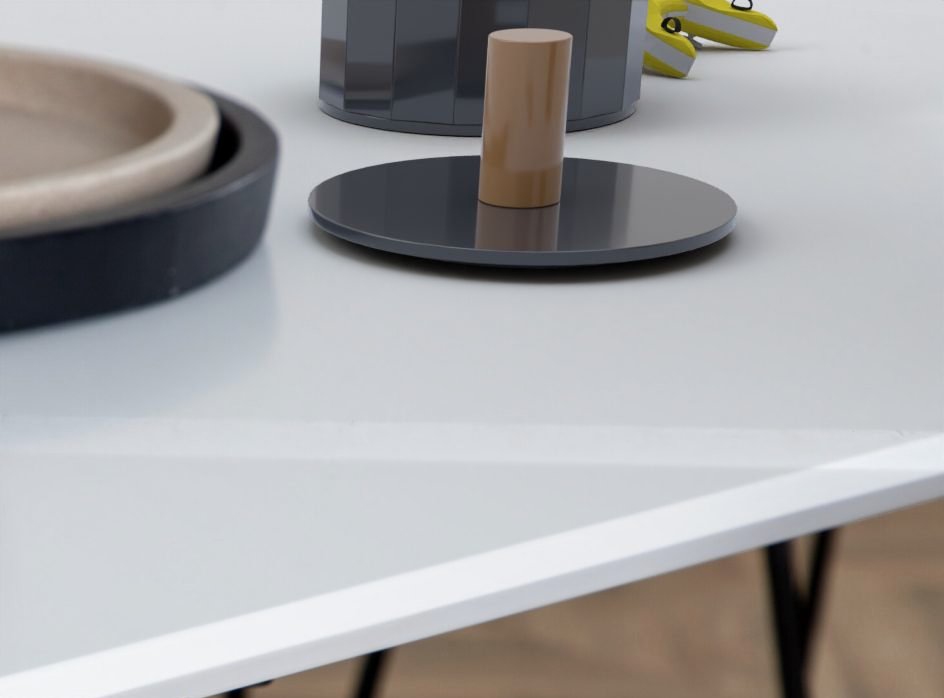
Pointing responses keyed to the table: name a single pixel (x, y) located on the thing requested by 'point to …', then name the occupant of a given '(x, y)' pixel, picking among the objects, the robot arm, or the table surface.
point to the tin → (469, 59)
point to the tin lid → (523, 185)
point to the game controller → (700, 31)
